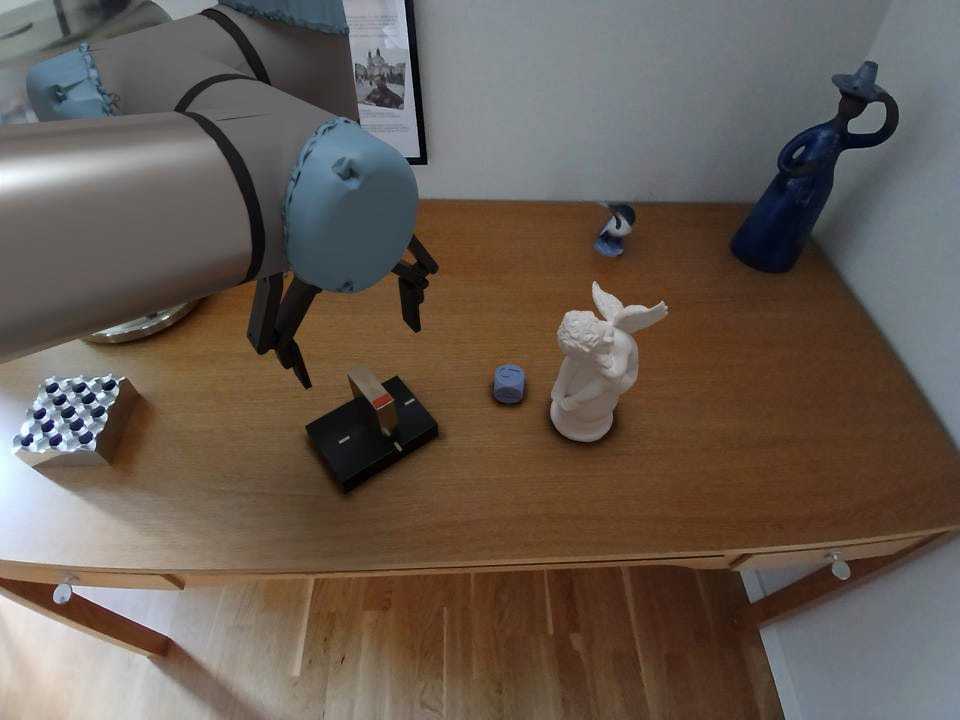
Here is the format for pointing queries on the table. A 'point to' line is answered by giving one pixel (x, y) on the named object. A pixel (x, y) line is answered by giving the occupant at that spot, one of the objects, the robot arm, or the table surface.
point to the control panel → (370, 437)
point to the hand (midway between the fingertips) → (360, 351)
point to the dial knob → (374, 403)
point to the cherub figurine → (597, 364)
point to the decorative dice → (509, 383)
